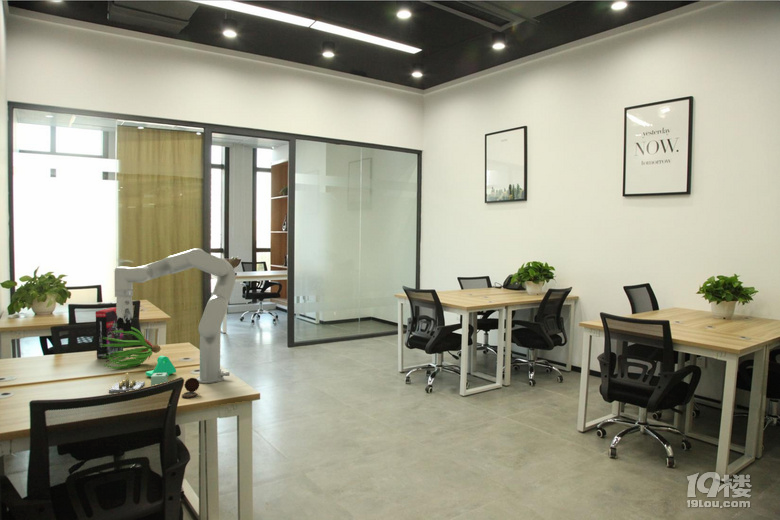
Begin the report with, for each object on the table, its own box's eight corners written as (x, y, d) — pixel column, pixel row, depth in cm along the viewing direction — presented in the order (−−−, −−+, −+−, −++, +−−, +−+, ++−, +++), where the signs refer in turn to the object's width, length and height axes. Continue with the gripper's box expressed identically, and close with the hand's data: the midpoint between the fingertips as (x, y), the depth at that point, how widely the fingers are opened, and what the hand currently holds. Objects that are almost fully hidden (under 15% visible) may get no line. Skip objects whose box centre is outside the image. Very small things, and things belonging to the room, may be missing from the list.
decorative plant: (166, 373, 277) (109, 383, 253) (143, 357, 292) (88, 365, 267) (173, 328, 274) (116, 334, 250) (150, 314, 288) (94, 318, 264)
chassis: (144, 383, 239) (144, 369, 238) (138, 391, 227) (138, 375, 227) (116, 385, 236) (116, 370, 236) (108, 392, 224) (108, 377, 224)
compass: (180, 399, 218) (180, 382, 217) (185, 393, 226) (185, 377, 225) (199, 398, 219) (199, 382, 218) (204, 393, 226) (204, 377, 226)
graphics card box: (107, 359, 286) (107, 311, 285) (95, 359, 286) (94, 311, 285) (123, 352, 303) (123, 307, 302) (112, 352, 303) (111, 307, 302)
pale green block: (167, 382, 241) (167, 372, 241) (164, 386, 235) (164, 375, 235) (153, 383, 240) (153, 373, 239) (151, 387, 234) (150, 376, 234)
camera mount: (167, 372, 261) (167, 352, 261) (175, 374, 257) (176, 354, 257) (144, 377, 251) (144, 356, 251) (153, 379, 247) (153, 358, 247)
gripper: (138, 294, 232) (138, 331, 232) (127, 291, 244) (127, 326, 245) (120, 295, 227) (120, 333, 227) (109, 292, 239) (110, 328, 240)
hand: (124, 329), depth 236 cm, fingers open, 9 cm apart
